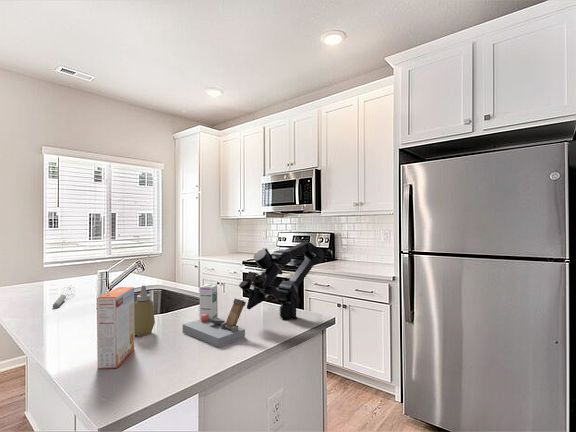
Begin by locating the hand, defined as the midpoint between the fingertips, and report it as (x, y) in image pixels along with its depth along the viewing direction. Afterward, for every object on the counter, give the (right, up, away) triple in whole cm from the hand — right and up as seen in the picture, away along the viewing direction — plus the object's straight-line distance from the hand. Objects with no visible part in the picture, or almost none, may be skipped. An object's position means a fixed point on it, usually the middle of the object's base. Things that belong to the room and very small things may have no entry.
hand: (247, 308), depth 128 cm
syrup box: (-19, -9, +16) cm, 26 cm away
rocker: (-12, -5, -2) cm, 13 cm away
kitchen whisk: (-100, -9, +44) cm, 110 cm away
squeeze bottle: (-39, -9, -3) cm, 40 cm away
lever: (-6, -5, -7) cm, 10 cm away
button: (-17, -6, +3) cm, 18 cm away
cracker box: (-37, -9, -25) cm, 46 cm away
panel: (-13, -9, -4) cm, 16 cm away
